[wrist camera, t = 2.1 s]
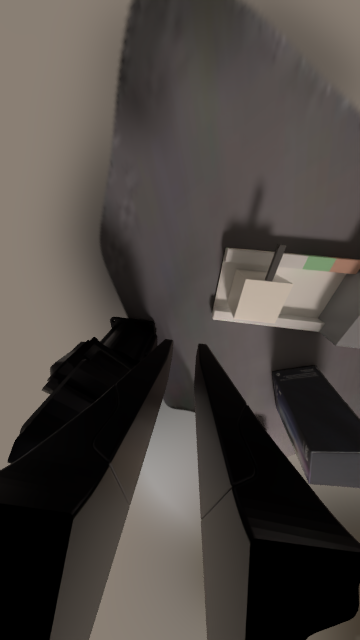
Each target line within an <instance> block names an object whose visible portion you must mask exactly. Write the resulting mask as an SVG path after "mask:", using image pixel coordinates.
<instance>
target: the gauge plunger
mask: <svg viewBox="0 0 360 640" xmlns="http://www.w3.org/2000/svg"><path fill="white" fill-rule="evenodd" d="M286 246H287V245H277V247H276V250H275V253H274V256H273V258H272V261H271V264H270V266H269V269H268V272H260V271H250V270H240V269H236V271H235V275H234V279H233V283H232V287H231V291H230V295H229V298H228V302H227V303H228V305H229V308H230V310H231V313H232V315H233V318H234V319H240V320H249V321H257V322H266V323H274V324H275V322H276V320H277V318H278V316H279V314H280V312H281V310H282V307H283V305H284V303H285V301H286V299H287V297H288V295H289V293H290V291H291V289H292V287H293V283H291V282H289V281H287V280H286V279H284V278H282V277H280V276H278V275H277V274H276V271H277V269H278V266H279V264H280V261H281V259H282V256H283V254H284V251H285V248H286Z"/></svg>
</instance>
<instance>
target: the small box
mask: <svg viewBox="0 0 360 640" xmlns="http://www.w3.org/2000/svg"><path fill="white" fill-rule="evenodd" d="M272 376H273V384H274V392H275V400H276V408H277V410H278V413H279V415H280V417H281V420H282V422H283V424H284V427H285V429H286V432H287V434H288V436H289V438H290V441H291V443H292V446H293V448H294V450H295V453H296V455H297V457H298V459H299V461H300V464H301V466H302V468H303V471H304V473H305V476H306V478H307V480H308V483H309V484H316V485H330V486H342V487H354V488H360V419H359V418H358V416H357V415H356V414H355V413H354V411H353V410H352V409H351V408H350V407H349V405H348V404H347V403H346V402H345V401H344V400H343V399H342V397H341V396H340V395H339V394H338V393H337V391H336V390H335V389H334V388H333V386H332V385H331V384H330V383H329V382H328V380H327V379H326V378H325V377H324V375H323V374H322V373H321V372H320V370H319V369H318V368H317V366H309V367H302V368H296V369H288V370H281V371H275V372H272Z"/></svg>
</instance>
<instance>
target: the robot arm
mask: <svg viewBox="0 0 360 640" xmlns="http://www.w3.org/2000/svg"><path fill="white" fill-rule="evenodd" d="M114 320H115V321H114ZM110 322H111V327H112V329H111V330H110V331H109V333H107V335H106V336H105V337H104V338H103V339H102V340H101V341H98V339H97V338H95V337H93V338H92V339H91V340H90V341H89V340H87V341H86V342H80V344H78V345H77V346H76V347H75V348H74V349H73V350H72V351H71V352H69V353H68V354H67V355H65V356H64V357H62V358H61V359H59V360H58V361H57V362H55V364H54V365H52V366H51V368H50V374H51V376H50V377H49V379H48V380H47V381H48V383H47V384H46V385H45V386H44V387H43V389H42V391H44V392H46V393H49V394H51V395H50V396H49V397H48V398H47V399H46V400H45V401H44V402H43V403H42V405H41V406H40V407H39V408H38V409H37V410H36V411H35V412H34V413H33V414H32V416H31V417H30V418H29V419H28V420H27V421H26V422H25V423H24V425H23V426H22V428H21V431H20V434H19V436H18V437H17V439H16V440H15V442H14V444H13V447H12V450H11V453H10V455H9V458H8V463H11V464H10V465H8V466H7V467H5V468H3V469H2V470H0V640H89V638H90V634H91V631H92V628H93V624H94V621H95V618H96V615H97V612H98V608H99V605H100V602H101V598H102V595H103V592H104V588H105V585H106V582H107V579H108V576H109V572H110V569H111V566H112V562H113V559H114V556H115V553H116V549H117V546H118V543H119V540H120V537H121V533H122V530H123V527H124V523H125V520H126V517H127V513H128V510H129V505H130V504H131V500H132V497H133V494H134V490H135V487H136V484H137V481H138V478H139V474H140V471H141V467H142V465H143V461H144V458H145V454H146V451H147V448H148V445H149V442H150V438H151V435H152V432H153V429H154V425H155V422H156V419H157V415H158V412H159V409H160V405H161V402H162V399H163V396H164V393H165V389H166V386H167V382H168V377H169V371H170V366H171V360H172V354H173V340H169V339H165V340H164V341H163V342H162V343H160V344H159V345H158V346H157V335H155V323H154V322H152V321H145V320H137V319H129V318H120V317H112V318H111V319H110ZM150 324H152V326H151V325H150ZM194 397H195V414H196V415H195V416H196V434H197V452H198V473H199V492H200V511H201V531H202V550H203V568H204V588H205V607H206V625H207V640H306V639H307V638H308V637H309V636H310V635H312V634H314V633H316V632H319V631H322V630H324V629H327V628H330V627H332V626H335V625H338V624H340V623H343V622H346V621H348V620H350V619H352V618H353V617H354V616H355V615H356V613H357V611H358V607H359V589H358V588H359V584H360V543H359V542H358V541H357V540H356V539H355V538H354V537H353V536H352V535H351V534H350V533H349V532H348V531H347V530H346V529H345V528H344V527H343V526H342V524H341V523H340V522H339V521H338V520H337V519H336V518H335V517H334V515H333V514H332V513H331V512H330V511H329V510H328V508H327V507H326V506H325V505H324V504H323V503H322V501H321V500H320V499H319V497H318V496H317V495H316V494H315V492H314V491H313V490H312V489H311V487H310V486H309V485H308V484H307V483H306V481H305V480H304V479H303V477H302V476H301V475H300V474H299V472H298V471H297V470H296V469H295V467H294V466H293V465H292V464H291V462H290V461H289V460H288V459H287V457H286V456H285V455H284V453H283V452H282V451H281V450H280V448H279V447H278V446H277V445H276V443H275V442H274V441H273V439H272V438H271V437H270V435H269V434H268V433H267V432H266V430H265V429H264V427H263V426H262V425H261V423H260V422H259V420H258V419H257V418H256V416H255V415H254V413H253V412H252V410H251V409H250V407H249V406H248V405H246V404H247V403H246V402H245V400H244V399H243V397H242V396H241V394H240V393H239V391H238V390H237V388H236V387H235V385H234V384H233V382H232V381H231V380H230V378H229V377H228V375H227V374H226V372H225V371H224V369H223V368H222V366H221V365H220V363H219V362H218V360H217V359H216V357H215V356H214V354H213V353H212V351H211V350H210V348H209V347H208V346H207V345H206V344H199V345H198V349H197V355H196V365H195V380H194Z"/></svg>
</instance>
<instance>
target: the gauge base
mask: <svg viewBox="0 0 360 640" xmlns="http://www.w3.org/2000/svg"><path fill="white" fill-rule="evenodd" d="M274 253H275V252H272V251H261V250H250V249H239V248H228V247H226V249H225V254H224V259H223V263H222V268H221V273H220V278H219V282H218V287H217V292H216V297H215V302H214V306H213V311H212V317H213V319H215V320H223V321H232V322H240V323H249V324H257V325H265V326H274V327H282V328H291V329H299V330H307V331H316V332H320V333H321V334H322V335H324V336H325V337H326V338H327V339H328V340H329V341H331V342H332V343H333V344H334V345H335V346H343V347H351V348H360V259H349V258H338V257H327V256H316V255H305V254H294V253H284V254H283V256H282V259H281V261H280V264H279V266H278V269H277V271H276V274H277V275H278V276H280V277H282V278H284V279H286V280H287V281H289V282H291V283H293V287H292V289H291V291H290V293H289V295H288V297H287V299H286V301H285V303H284V305H283V307H282V310H281V312H280V314H279V316H278V318H277V320H276V322H275V324H274V323H266V322H257V321H249V320H240V319H234V318H233V315H232V313H231V310H230V308H229V305H228V303H227V302H228V298H229V295H230V291H231V287H232V283H233V279H234V275H235V271H236V269H240V270H250V271H260V272H268V269H269V266H270V264H271V261H272V258H273V256H274Z"/></svg>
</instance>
